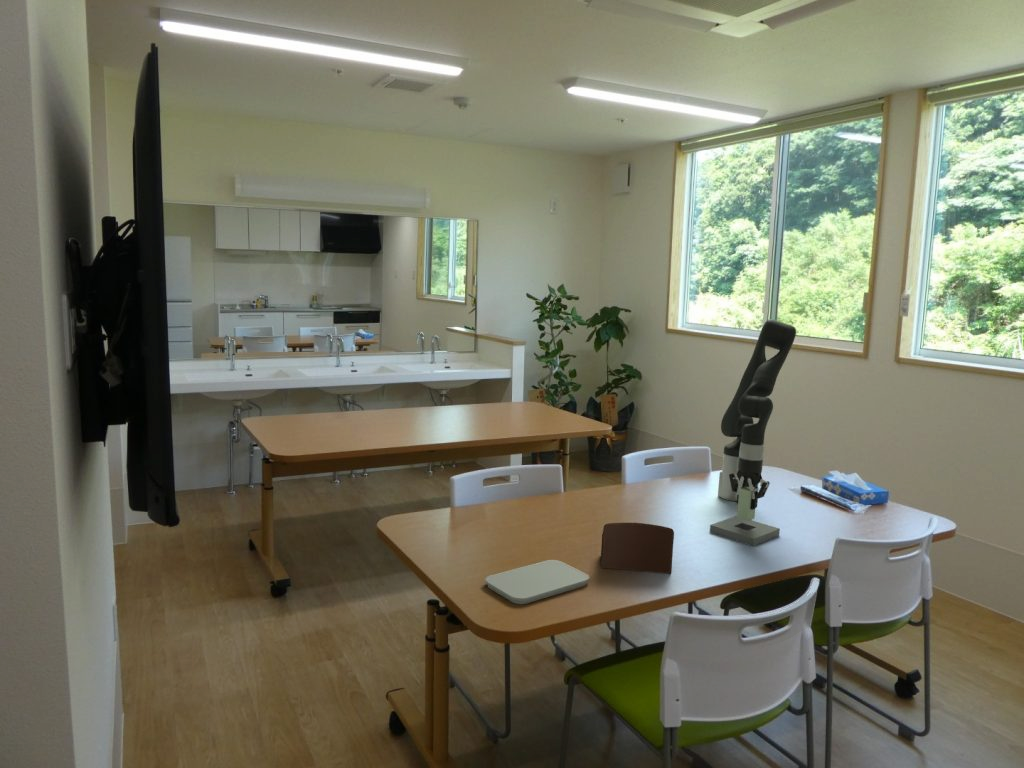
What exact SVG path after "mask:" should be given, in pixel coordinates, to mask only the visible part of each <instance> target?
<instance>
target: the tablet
mask: <svg viewBox="0 0 1024 768" xmlns="http://www.w3.org/2000/svg"><path fill="white" fill-rule="evenodd" d="M484 581H485V583H486V585H487V587H488V589H490V590H492V591H493V592H495V593H496V594H498V595H499V596H501V597H503V598H505V599H507V600H508V601H510V602H511V603H512V604H516V605H525V604H530V603H533V602H536V601H539V600H542V599H545V598H549V597H552V596H556V595H559V594H562V593H565V592H569V591H572V590H575V589H579V588H581V587H585V586H586V585H587V582H589V581H590V575H589V574H587V573H585V571H582V570H579V569H577V568H575V567H573V566H571V565H569V564H567V563H565V562H563V561H561V560H558V559H557V560H556V559H547V560H543V561H540V562H537V563H532V564H528V565H524V566H521V567H517V568H513V569H509V570H506V571H502V572H499V573H494V574H491V575H488V576H486V577H485V579H484Z"/></svg>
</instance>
